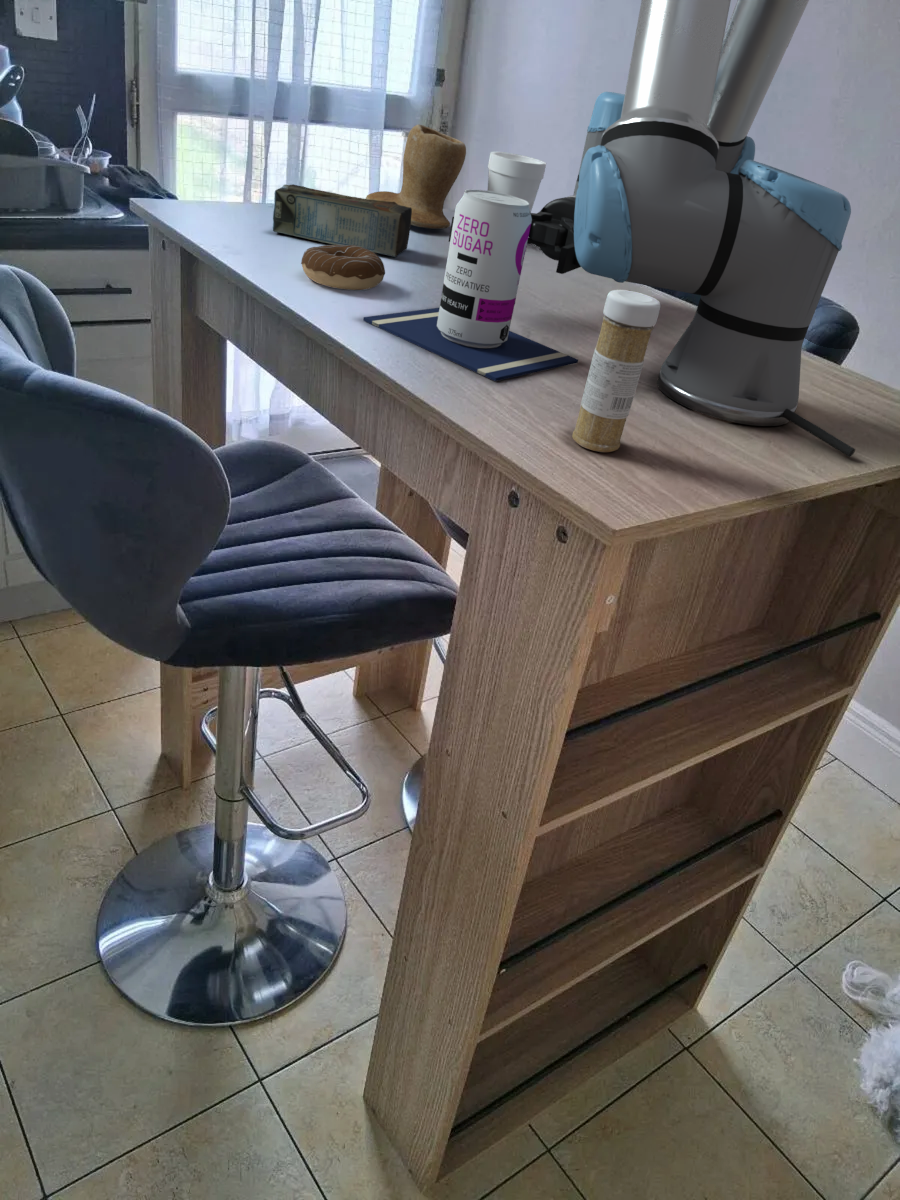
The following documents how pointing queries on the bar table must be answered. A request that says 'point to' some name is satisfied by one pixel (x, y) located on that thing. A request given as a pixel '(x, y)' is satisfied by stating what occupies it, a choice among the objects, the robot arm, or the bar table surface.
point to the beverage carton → (342, 219)
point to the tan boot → (427, 176)
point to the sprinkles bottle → (615, 369)
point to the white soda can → (483, 268)
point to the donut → (343, 267)
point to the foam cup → (515, 175)
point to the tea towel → (489, 362)
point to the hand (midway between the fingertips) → (506, 245)
